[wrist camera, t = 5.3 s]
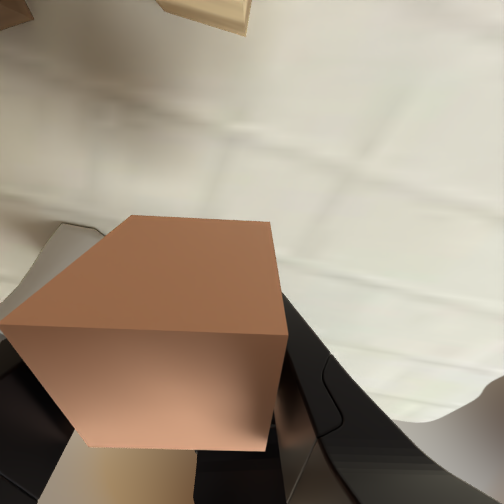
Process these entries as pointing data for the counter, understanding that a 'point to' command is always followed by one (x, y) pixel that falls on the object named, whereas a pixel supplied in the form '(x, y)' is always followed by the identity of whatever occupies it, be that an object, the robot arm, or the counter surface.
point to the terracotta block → (162, 335)
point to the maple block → (212, 12)
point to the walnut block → (13, 13)
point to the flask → (51, 263)
